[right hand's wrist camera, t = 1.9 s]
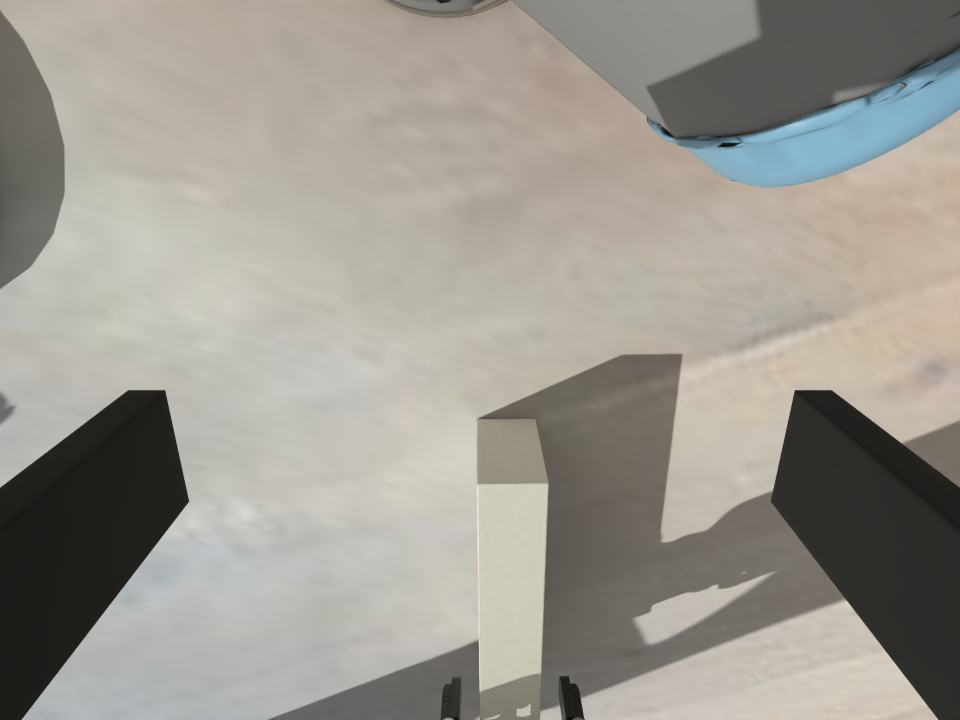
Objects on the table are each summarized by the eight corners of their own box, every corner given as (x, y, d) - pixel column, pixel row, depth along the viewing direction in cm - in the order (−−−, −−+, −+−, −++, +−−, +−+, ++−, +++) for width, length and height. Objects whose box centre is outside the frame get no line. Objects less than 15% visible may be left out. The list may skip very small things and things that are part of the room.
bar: (476, 418, 45) (476, 484, 37) (535, 418, 45) (549, 483, 37) (479, 658, 54) (480, 754, 45) (529, 657, 54) (538, 753, 45)
